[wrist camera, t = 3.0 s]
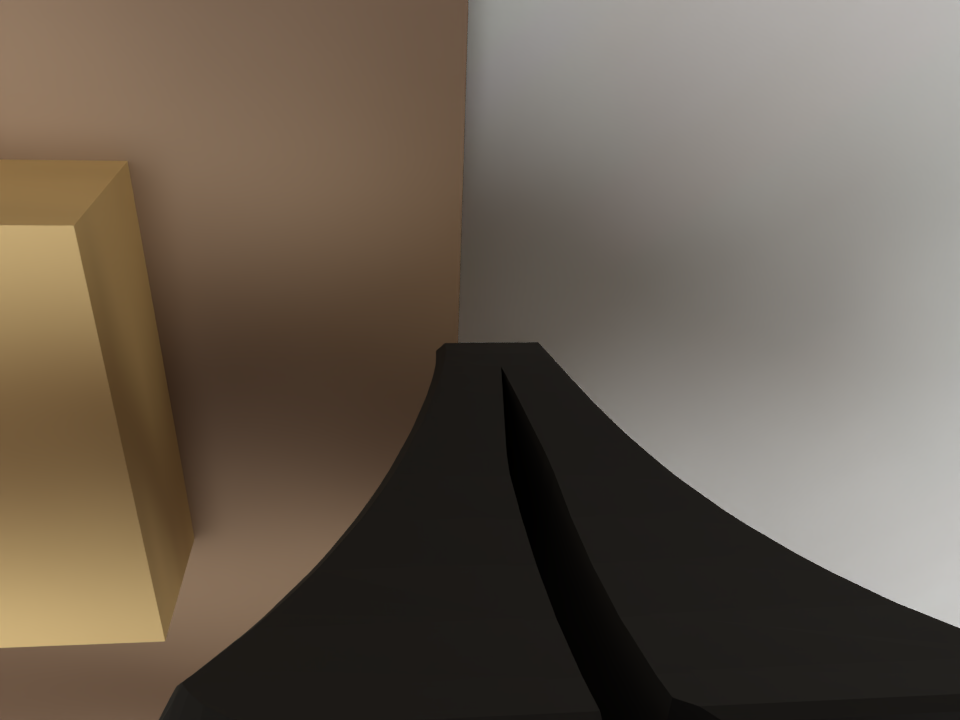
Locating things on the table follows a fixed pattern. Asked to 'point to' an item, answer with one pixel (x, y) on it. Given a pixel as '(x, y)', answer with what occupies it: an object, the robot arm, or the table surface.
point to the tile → (83, 416)
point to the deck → (255, 275)
